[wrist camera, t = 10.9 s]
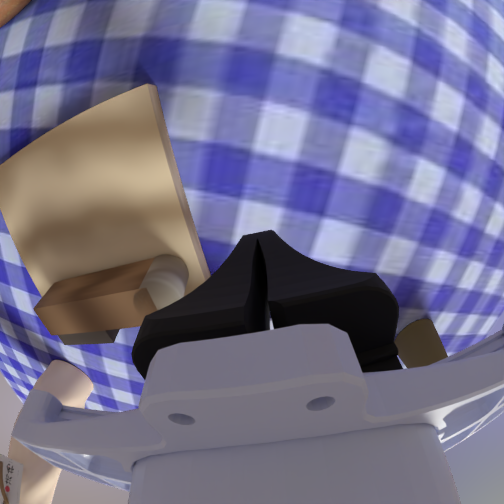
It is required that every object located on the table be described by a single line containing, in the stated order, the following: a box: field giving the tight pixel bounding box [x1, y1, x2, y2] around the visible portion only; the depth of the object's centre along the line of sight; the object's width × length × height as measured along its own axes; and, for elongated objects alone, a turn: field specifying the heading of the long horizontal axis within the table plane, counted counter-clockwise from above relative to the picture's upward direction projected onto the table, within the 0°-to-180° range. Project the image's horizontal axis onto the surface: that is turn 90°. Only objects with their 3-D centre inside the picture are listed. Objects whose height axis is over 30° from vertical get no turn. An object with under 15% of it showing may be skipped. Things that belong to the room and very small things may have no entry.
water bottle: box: [0, 360, 93, 504], centre depth 19 cm, size 10×9×28 cm
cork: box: [394, 319, 448, 368], centre depth 24 cm, size 6×6×11 cm
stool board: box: [0, 84, 211, 345], centre depth 18 cm, size 17×18×6 cm
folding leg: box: [34, 254, 189, 335], centre depth 19 cm, size 14×3×4 cm, turn 103°
